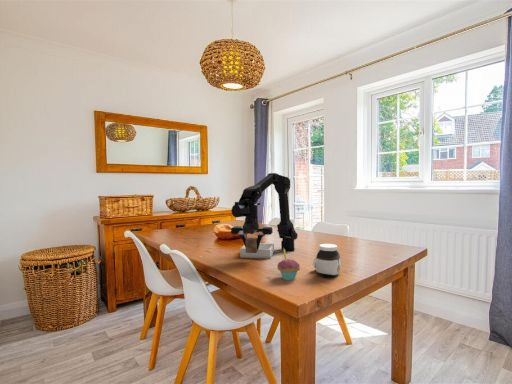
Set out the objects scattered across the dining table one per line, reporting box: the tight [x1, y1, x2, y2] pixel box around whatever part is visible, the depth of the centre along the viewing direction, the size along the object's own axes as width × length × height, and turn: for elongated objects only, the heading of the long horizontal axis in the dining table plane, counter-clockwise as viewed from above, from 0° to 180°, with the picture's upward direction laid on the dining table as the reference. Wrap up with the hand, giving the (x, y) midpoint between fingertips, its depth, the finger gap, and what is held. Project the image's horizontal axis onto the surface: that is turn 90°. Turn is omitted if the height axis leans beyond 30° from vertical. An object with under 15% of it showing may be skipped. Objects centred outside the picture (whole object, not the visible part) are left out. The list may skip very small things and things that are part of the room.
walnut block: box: [245, 237, 258, 253], centre depth 132 cm, size 5×5×6 cm
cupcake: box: [277, 250, 301, 281], centre depth 109 cm, size 9×8×12 cm
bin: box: [239, 242, 275, 260], centre depth 145 cm, size 15×13×4 cm
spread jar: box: [312, 243, 341, 279], centre depth 114 cm, size 12×11×12 cm
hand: (252, 248), depth 132 cm, fingers closed on walnut block, 5 cm apart
